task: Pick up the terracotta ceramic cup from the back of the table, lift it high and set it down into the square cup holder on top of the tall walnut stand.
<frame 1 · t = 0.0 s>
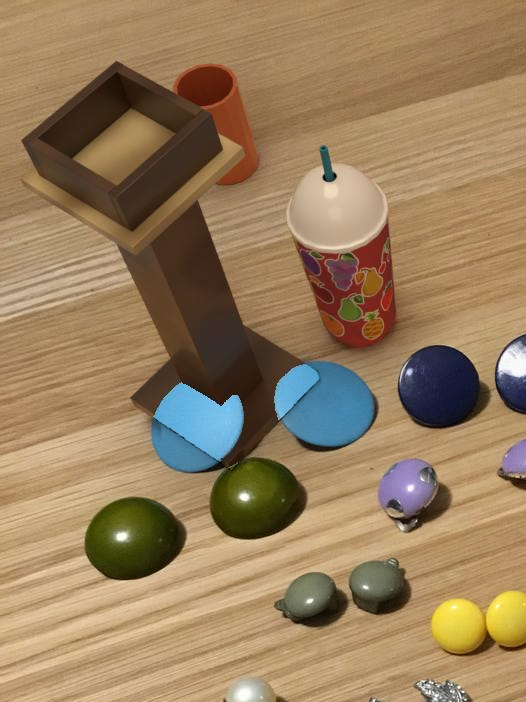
holder: (131, 162, 77), on the table
cup: (229, 162, 113), on the table
smoothie: (361, 324, 104), on the table
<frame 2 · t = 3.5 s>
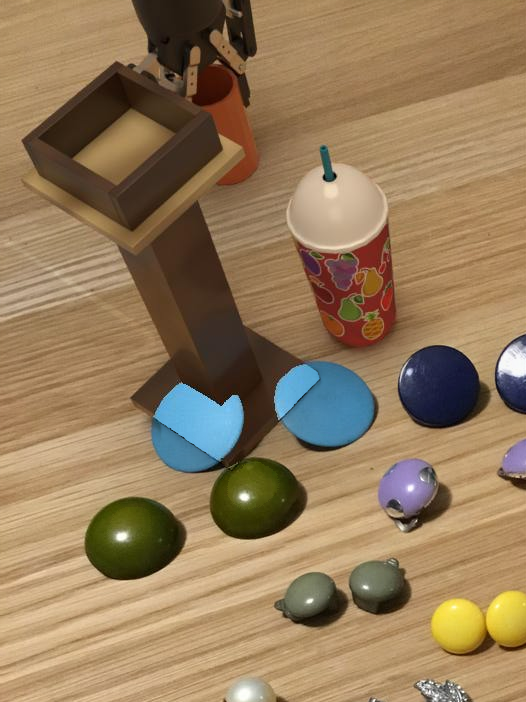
hand: (217, 124, 108), 5 cm above the table, tool pointing down, fingers closed on cup, 6 cm apart
cup: (229, 162, 113), on the table, touching gripper
everything else where it was.
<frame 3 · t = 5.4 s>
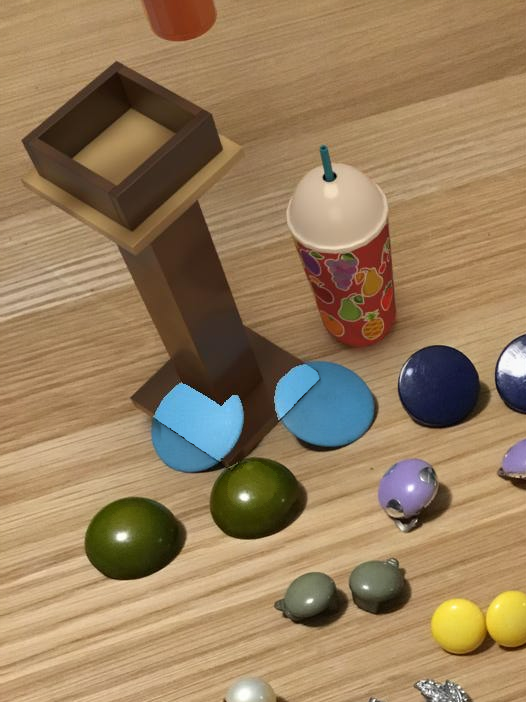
cup: (183, 18, 98), point 16 cm above the table, touching gripper
everything else where it was.
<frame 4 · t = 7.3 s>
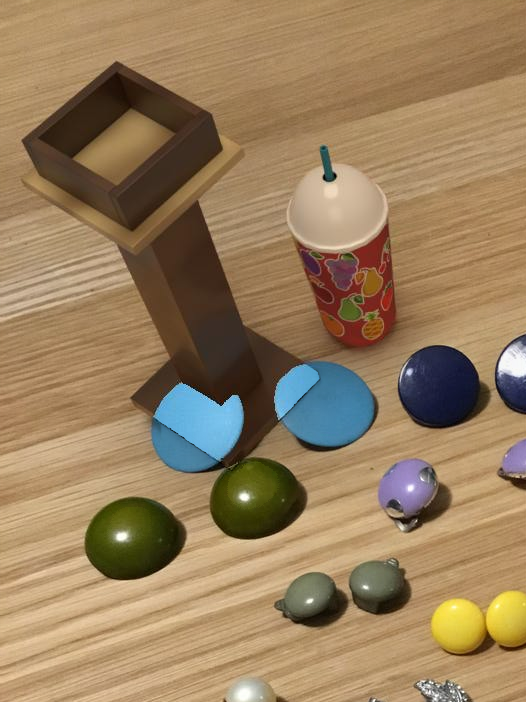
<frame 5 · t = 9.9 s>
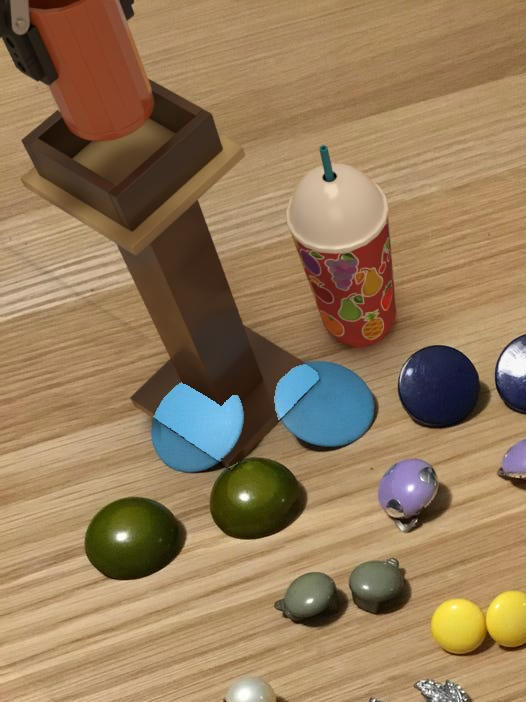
hand: (81, 45, 69), 35 cm above the table, tool pointing down, fingers closed on cup, 6 cm apart
cup: (108, 108, 73), point 30 cm above the table, touching gripper
everything else where it was.
when the fingers open (31 cm above the table, at t = 11.6 s): cup stays where it is, resting on holder.
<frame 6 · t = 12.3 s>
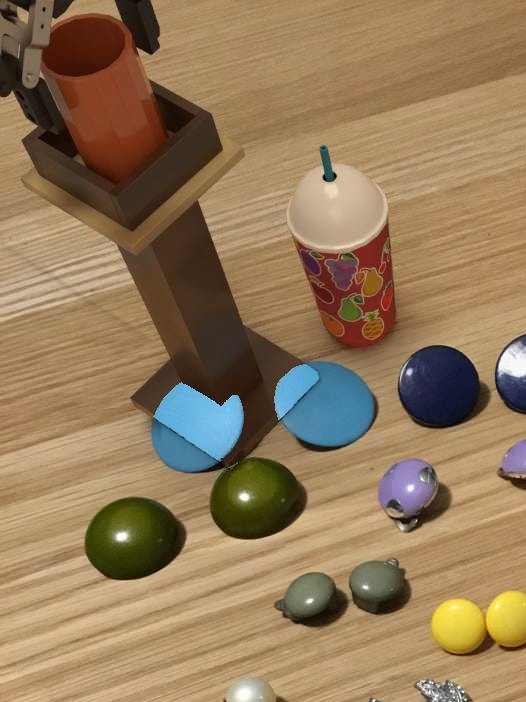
hand: (100, 86, 72), 32 cm above the table, tool pointing down, fingers open, 8 cm apart
cup: (131, 162, 77), point 26 cm above the table, touching holder
everything else where it was.
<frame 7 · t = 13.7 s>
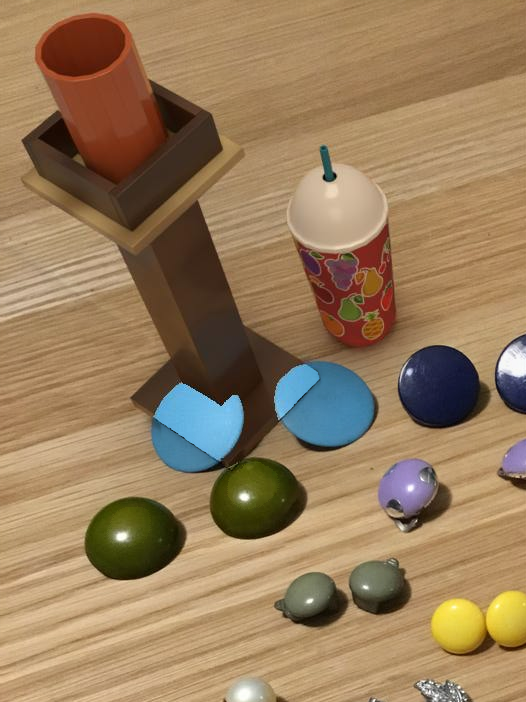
nothing on the table moved.
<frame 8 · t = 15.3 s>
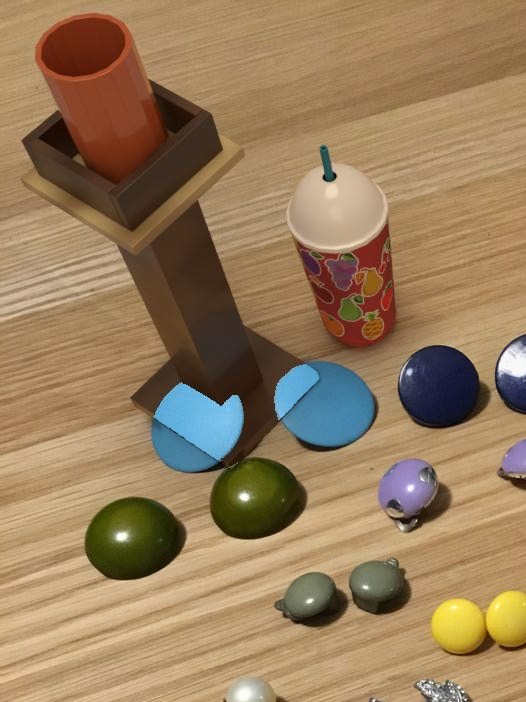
nothing on the table moved.
at the end: cup 0.0 cm off-centre on the holder, point 0.0 cm above the holder's base; cup tilted 0°; the gripper is holding nothing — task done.
